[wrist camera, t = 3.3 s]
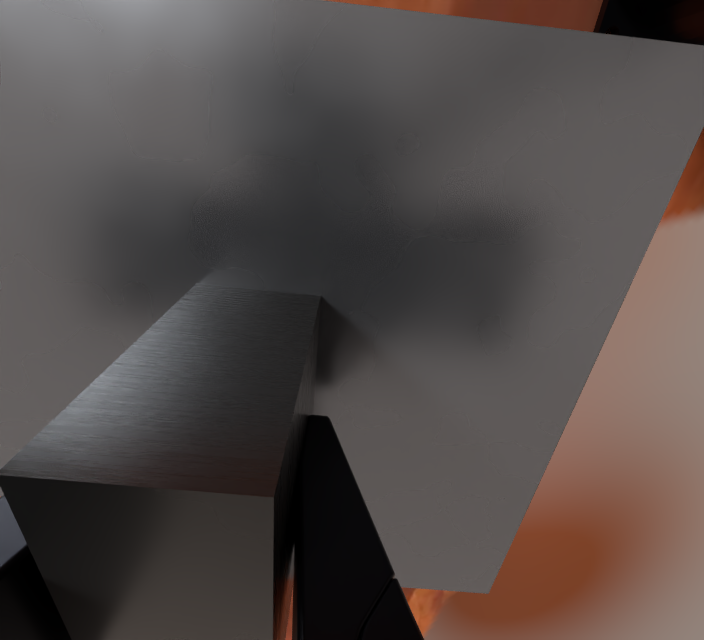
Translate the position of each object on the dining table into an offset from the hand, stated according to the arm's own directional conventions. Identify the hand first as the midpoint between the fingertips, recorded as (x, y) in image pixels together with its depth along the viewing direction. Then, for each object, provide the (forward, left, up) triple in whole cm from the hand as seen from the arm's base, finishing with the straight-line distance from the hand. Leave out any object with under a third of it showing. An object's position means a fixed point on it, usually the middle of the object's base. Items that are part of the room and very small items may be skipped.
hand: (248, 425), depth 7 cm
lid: (0, 0, -2) cm, 2 cm away
